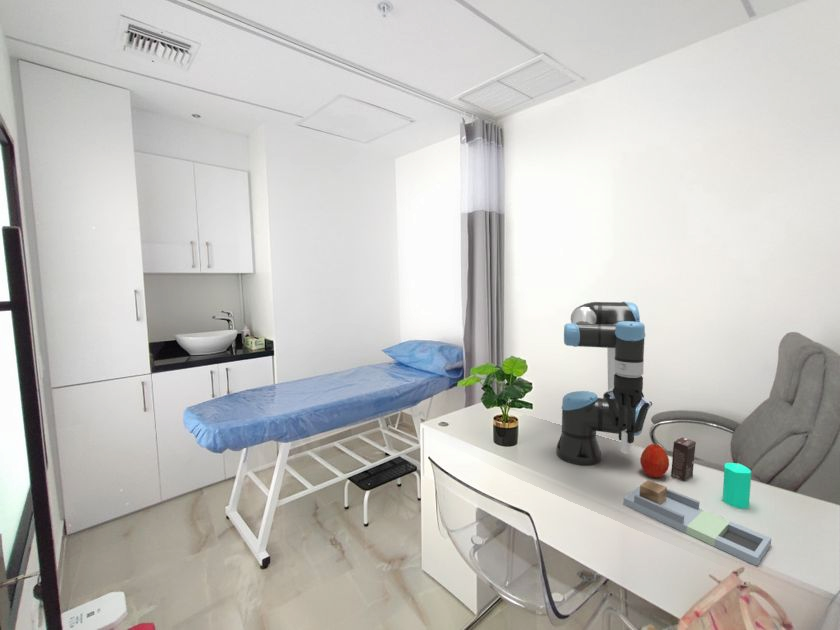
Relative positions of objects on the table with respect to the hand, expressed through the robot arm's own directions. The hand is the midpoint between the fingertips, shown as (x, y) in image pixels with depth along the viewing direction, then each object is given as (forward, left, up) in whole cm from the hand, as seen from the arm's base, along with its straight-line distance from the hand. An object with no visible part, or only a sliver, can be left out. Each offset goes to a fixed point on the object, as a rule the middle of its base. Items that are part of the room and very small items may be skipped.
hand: (625, 451), depth 115 cm
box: (+6, +25, -14) cm, 29 cm away
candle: (+21, +21, -14) cm, 33 cm away
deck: (+17, 0, -13) cm, 22 cm away
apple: (0, +19, -14) cm, 23 cm away
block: (+8, 0, -11) cm, 14 cm away
